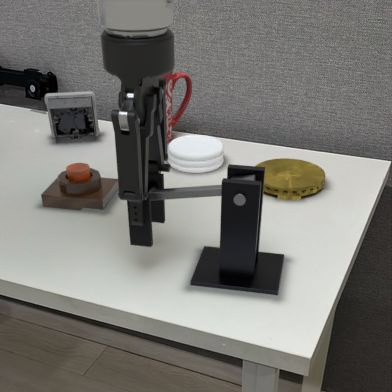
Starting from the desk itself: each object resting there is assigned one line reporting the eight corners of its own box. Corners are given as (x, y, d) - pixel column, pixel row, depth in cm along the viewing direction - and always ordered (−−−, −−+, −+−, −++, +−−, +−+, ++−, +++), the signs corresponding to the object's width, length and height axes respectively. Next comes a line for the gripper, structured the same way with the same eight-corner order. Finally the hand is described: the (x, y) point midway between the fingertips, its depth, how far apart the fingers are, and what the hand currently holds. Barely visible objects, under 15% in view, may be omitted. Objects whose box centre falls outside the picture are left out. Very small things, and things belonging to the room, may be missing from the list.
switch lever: (137, 214, 68) (132, 196, 66) (149, 195, 72) (145, 177, 70) (253, 208, 64) (251, 188, 62) (258, 187, 68) (257, 168, 67)
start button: (64, 181, 87) (62, 170, 86) (72, 172, 90) (71, 161, 89) (86, 183, 86) (84, 172, 85) (94, 174, 89) (92, 163, 88)
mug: (135, 152, 106) (130, 74, 97) (125, 135, 112) (119, 61, 103) (199, 144, 109) (199, 68, 100) (185, 128, 115) (184, 56, 106)
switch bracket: (190, 289, 71) (189, 186, 62) (204, 253, 78) (204, 155, 69) (277, 299, 69) (288, 195, 60) (283, 261, 76) (294, 162, 67)
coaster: (191, 179, 96) (191, 159, 94) (157, 161, 102) (156, 142, 100) (234, 164, 101) (235, 145, 99) (199, 148, 107) (199, 129, 104)
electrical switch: (100, 134, 112) (94, 87, 106) (101, 147, 109) (95, 98, 102) (52, 137, 111) (43, 90, 105) (52, 150, 108) (43, 101, 101)
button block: (43, 207, 88) (38, 183, 86) (62, 186, 94) (58, 163, 92) (103, 213, 87) (100, 189, 84) (119, 191, 93) (117, 168, 90)
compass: (237, 184, 95) (237, 171, 93) (283, 164, 101) (284, 152, 99) (291, 208, 88) (293, 195, 86) (338, 185, 94) (340, 173, 93)
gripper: (148, 53, 49) (158, 274, 65) (192, 12, 63) (191, 203, 78) (68, 48, 51) (96, 267, 66) (128, 9, 64) (140, 198, 80)
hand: (148, 232), depth 72 cm, fingers closed on switch lever, 5 cm apart
